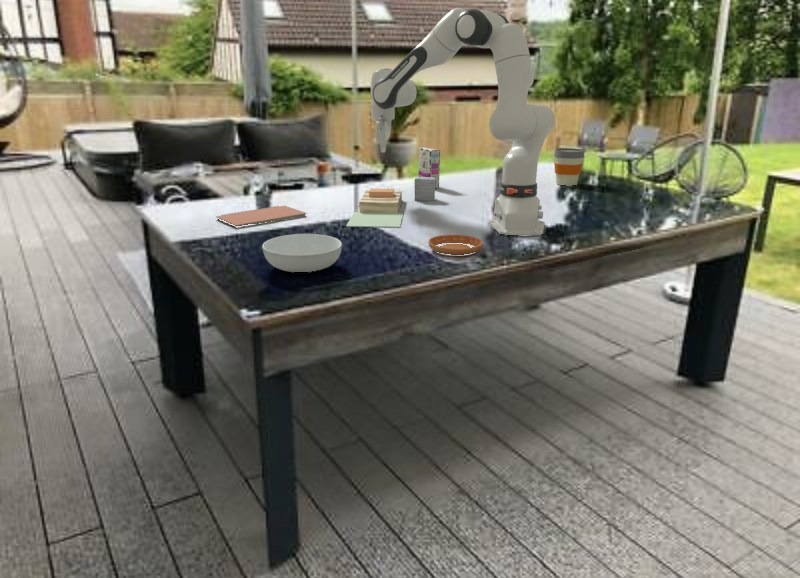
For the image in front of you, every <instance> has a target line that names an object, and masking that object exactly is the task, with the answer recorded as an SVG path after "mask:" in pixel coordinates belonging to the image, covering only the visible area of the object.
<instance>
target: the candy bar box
mask: <svg viewBox="0 0 800 578" xmlns="http://www.w3.org/2000/svg"><path fill="white" fill-rule="evenodd" d="M440 159H441V149H437V148H432V147H418V177H434V178H435V188H437V189H440V165H441V160H440Z"/></svg>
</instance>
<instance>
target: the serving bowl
mask: <svg viewBox="0 0 800 578" xmlns="http://www.w3.org/2000/svg"><path fill="white" fill-rule="evenodd" d="M261 248H262V252H263V255H264V259H266V261H267V262H268V263H269V264H270V265H271V266H272V267H274V268H276V269H279V270H281V271H284V272H290V273H294V272H308V273H312V271H313V272H316V271H317V270H318V271H322V270H323V269H326V268H329V267H331V266H332V265H333V264H335V262H336V261H338V259H339V257H340V256H341V253H342V248H343V243H342V242H341V240H340V239H338V238H336V237H333V236H330V235H325V234H319V233H318V234H317V233H293V234H286V235H280V236H276V237H273V238H271V239H268V240H266V241H264V242H263V244H262V246H261Z"/></svg>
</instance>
